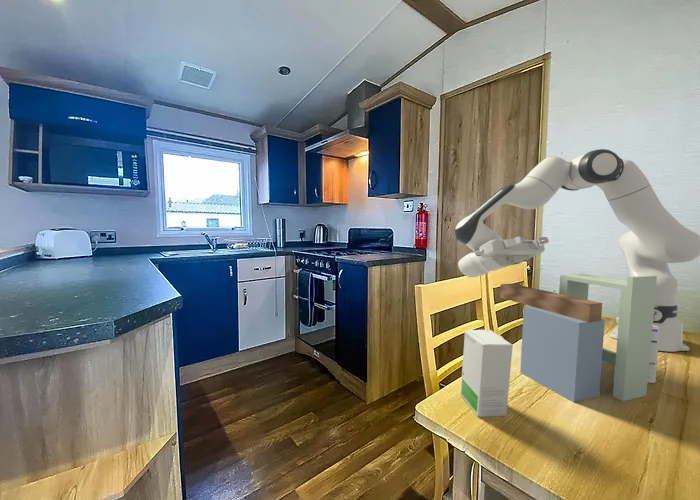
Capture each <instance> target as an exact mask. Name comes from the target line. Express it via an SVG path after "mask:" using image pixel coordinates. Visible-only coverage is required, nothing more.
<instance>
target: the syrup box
mask: <svg viewBox="0 0 700 500" xmlns="http://www.w3.org/2000/svg"><path fill="white" fill-rule="evenodd" d="M658 342H659V327H657V326H654V325H653V327H652V338H651V349H650V360H649V371H648V383H649V384H656V379H657V367H658V353H659V350H658ZM648 383H647V384H648Z"/></svg>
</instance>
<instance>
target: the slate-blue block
mask: <svg viewBox="0 0 700 500" xmlns="http://www.w3.org/2000/svg"><path fill="white" fill-rule="evenodd" d="M522 315H523V316H522V317H523V318H522V335H521V337H522V338H521V350H520V351H521V352H520V354H521V355H520V371H519V372H520V374H521V375H524V376H525V377H527V378H529V379H531V380H533V381H535V382H537V383H538V384H540V385H542V386H544V387H545V388H547V389H549V390H551V391H552V392H555V393H556V394H559V395H560V396H562V397H563V398H565V399H567V400H569V401H571V402H573V403H577V402H581V401H585V400H590V399H594V398H598V397H600V389H601V376H602V365H603V364H602V363H603V361H602V352H603V348H604V337H605V324H606V320H605V319H602V318H601V321H595V322H586V321H582V320H579V319H575V318H571V317H568V316H564V315H561V314H557V313H554V312H550V311H546V310H543V309H539V308H536V307H532V306H529V305H525V306H523V314H522Z"/></svg>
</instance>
